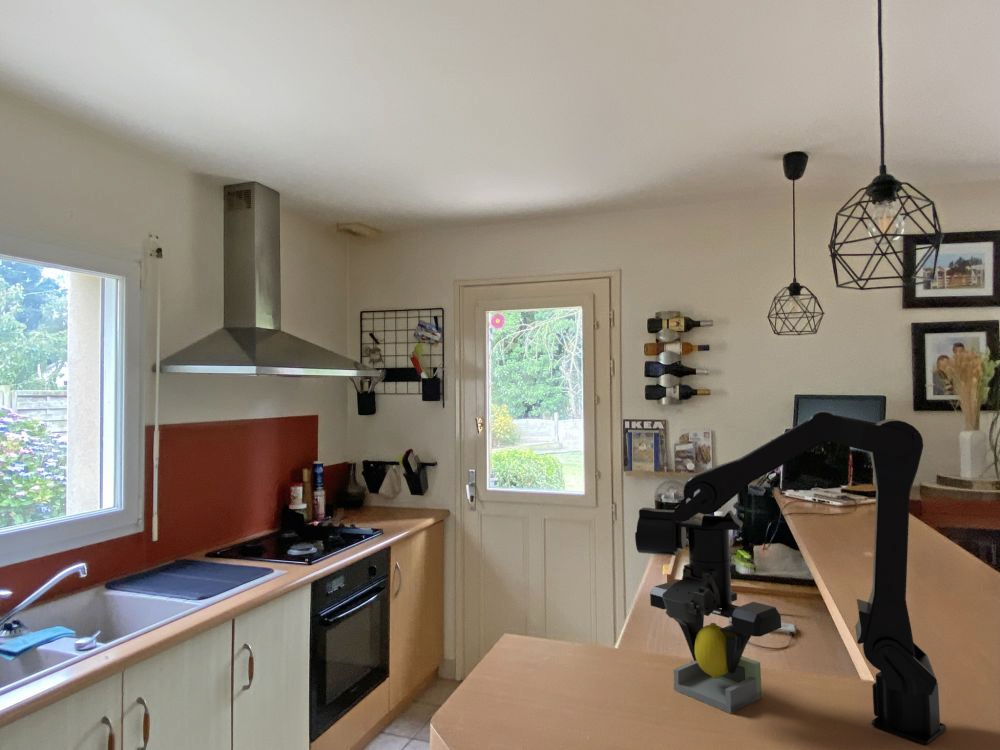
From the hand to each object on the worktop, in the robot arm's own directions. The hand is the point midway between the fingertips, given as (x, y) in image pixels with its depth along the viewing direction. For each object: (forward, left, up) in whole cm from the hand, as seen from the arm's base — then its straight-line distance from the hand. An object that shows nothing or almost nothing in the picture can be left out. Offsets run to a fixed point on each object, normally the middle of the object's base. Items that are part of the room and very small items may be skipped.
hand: (713, 666), depth 96 cm
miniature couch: (0, -1, -4) cm, 4 cm away
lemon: (0, 0, -2) cm, 2 cm away
